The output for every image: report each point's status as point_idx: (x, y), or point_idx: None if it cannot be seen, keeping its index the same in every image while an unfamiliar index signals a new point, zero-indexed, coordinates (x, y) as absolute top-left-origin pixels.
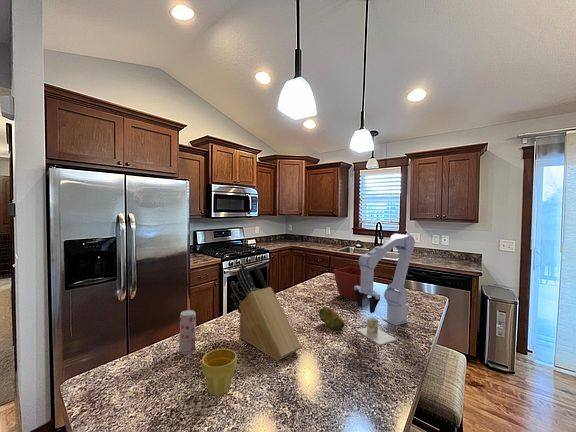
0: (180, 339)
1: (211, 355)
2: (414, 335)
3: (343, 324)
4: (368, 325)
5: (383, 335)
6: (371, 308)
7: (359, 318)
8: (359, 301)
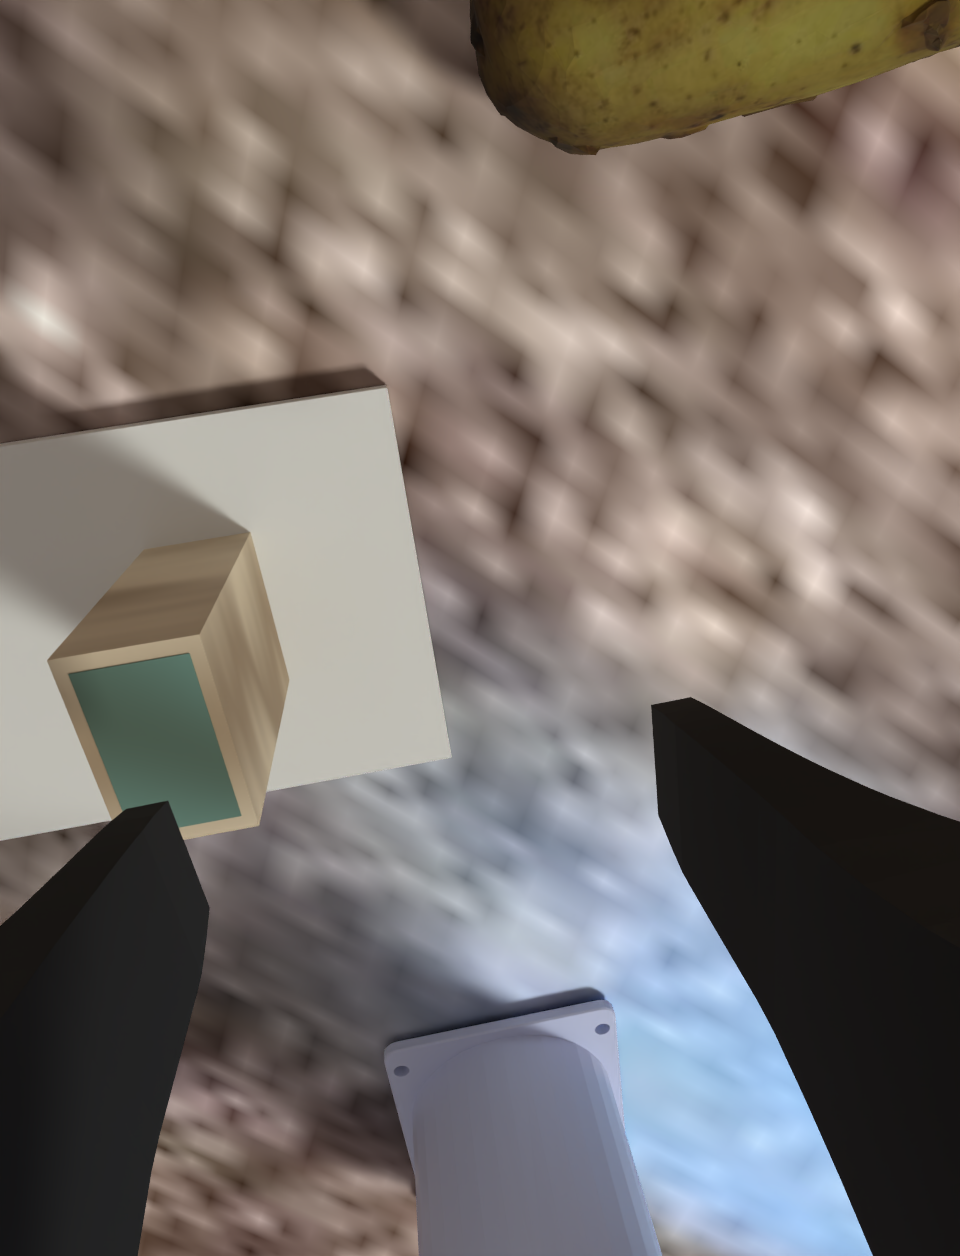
0: None
1: None
2: None
3: (493, 57)
4: (187, 588)
5: None
6: (22, 921)
7: (782, 713)
8: (738, 835)
